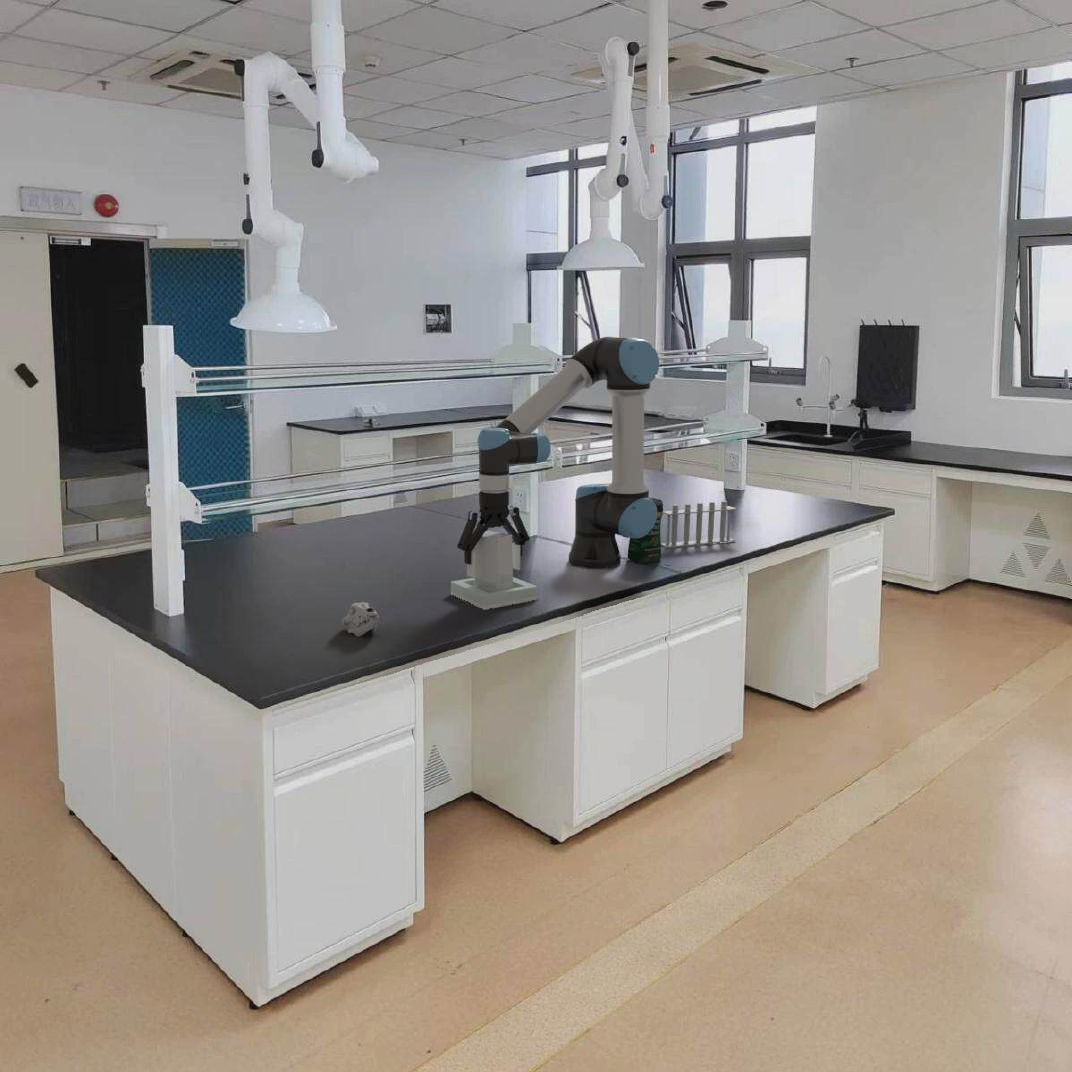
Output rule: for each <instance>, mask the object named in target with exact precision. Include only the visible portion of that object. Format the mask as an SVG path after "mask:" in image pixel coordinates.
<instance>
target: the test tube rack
mask: <svg viewBox="0 0 1072 1072" xmlns="http://www.w3.org/2000/svg"><path fill="white" fill-rule="evenodd" d="M708 504H709V505H708V507H704V503H703V502H697V503H696V508H691V503H685V504H684V509H679V505H678V504H673V505H672V510H665V511H664V510H663V515H666V517H667V518H666V519H667V520H666V521H667V522H666V525H667V526H666V541H665V542H663V543H661V547H662V546H663V547H662V548H664V547H666V548H665V549H667V548H670V549H678V548H677V547H681V548H688V547H687V546H691V547H696V546H695V545H702V546H705V545H704V544H712V545H714V544H713V543H720V542H728V541H737V540H736V539H733V538H731V537H730V535H731V534H730V531H731V517H732V515H731V513H732V511H737V510H738V508H737V507H733V506H730V505H728V502H727V500H722V501H721V504H720V506H715V505H716V502H715V501H709V502H708ZM715 512H720V519H719V520H720V523H719V537H718V538H717V537H716V538H714V530H715V529H714V527H715ZM703 513H708V523H707V524H708V525H707V538H705V539H704V538H703V539H702V532H703V531H702V528H703ZM691 514H696V521H695V523H696V524H695V526H696V527H695V539H694V540H690V529H691V528H690V527H691ZM679 515H684V518H683V520H684V521H683V522H684V523H683V540H682V541H677V540H678V523H679V522H678V520H679V519H678V518H679ZM670 523H671V524H670ZM670 525H671V526H670ZM726 525H727V528H726ZM670 529H671V537H670ZM670 538H671V539H670ZM670 540H671V541H670Z"/></svg>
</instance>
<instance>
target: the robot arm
mask: <svg viewBox="0 0 1072 1072" xmlns="http://www.w3.org/2000/svg"><path fill="white" fill-rule="evenodd" d="M659 369H660V357H659V354H658V351H657V349H656V348H655V347H654V346H653V345H652V343H651V342H649V341H647V340H645V339H641V338H637V337H613V336H604V337H603V336H602V337H600V338H597V339H595V340H593V341H591V342H590V343H588V344H586V345H584V347H581V349H579V350H578V351H577V352H575V353H574V354H573V355H572V356H571V357H569V358H568V359H567V360H566V361H565V365H564V367H563V368H562V369H561V370H560V371H559V372H558V373H557V374H555V376H553V377H552V378H551V379H550V380H549V381H547V382H546V383H545V384H544V385H542V386H541V388H540V389H538V390H537V391H536V392H535V393H533V395H531V396H530V397H529V398H528V399H526V400H525V401H524V402H523V403H522V404H520V406H518V407H517V408H516V409H514V411H513V412H512V413H510V414H509V415H508V416H507V417H506V418H504V419H503V420H502V421H501V422H499V423H498V424H497V425H496V426H488V427H484V428H483V429H481V430H480V432H479V434H478V437H477V446H478V474H479V475H478V482H479V483H478V488H479V489H480V490H479V492H478V504H479V511H472V510H470V511H469V512H468V514H467V521H466V524H465V526H464V527H463V531H462V534H461V535H460V539H459V541H458V543H457V545H456V547H457V549H459V550H460V551H463V554H464V564H466V576H468V577H470V578H474V577H475V552H474V551H473V549H474V547H475V546H476V544H477V543H478V541H479V540H480V538H481V537H482V535H483V534H484V532H486V531H489V528H490V529H493V528H500V527H502V528H503V529H504V531H506V534H512V541H514V543H513V542H512V554H513V570H516V571H520V570H521V557H522V556H523V548H524V547H523V546H524V545H525V544H526V542H529V541H530V537H529V534H528V532H527V530H526V529H527V528H526V527H525V524H524V521H522V518H521V515H520V508H519V507H517V506H514V505H511V506H510V507H509V505H510V492H509V491H508V490H510V466H516V465H518V466H519V465H528V464H535V465H536V464H538V463H543V462H546V461H547V460H548V459H549V458H550V455H551V443H550V442H551V441H550V439H549V438H548V436H547V435H546V434H545V433H542V432H540V433H539V432H537V433H536V430H537V429H539V427H540V426H541V425H543V424H544V423H545V422H546V421H547V420H549V419H550V418H551V417H552V416H553V415H554V414H556V412H558V411H559V410H560V409H561V408H563V406H565V405H566V404H567V403H568V402H569V401H570V400H571V399H573V398H574V397H575V396H576V395H577V394H578V393H579V392H581V391H582V390H583V389H586V390H587V389H589V388H591V387H592V386H593V385H594V384H596V383H598V382H601V381H606V390H607V391H608V393H610V394H611V397H612V400H611V401H612V403H611V408H612V413H611V415H612V416H611V417H612V418H611V419H612V421H611V424H612V425H611V430H612V431H611V432H612V433H611V439H612V441H611V443H612V445H611V446H612V447H611V448H612V449H611V452H612V453H611V455H612V456H611V465H612V466H611V469H612V470H611V472H612V474H611V483H592V484H583V485H580V486H579V487H578V488H576V492H575V499H574V500H575V510H574V511H575V514H574V515H575V518H574V519H575V521H574V524H575V525H574V526H575V529H574V539H573V542H572V545H571V548H570V551H569V552H568V563H569V564H570V565H571V566H574V567H578V568H583V569H594V570H595V569H597V570H598V569H599V570H600V569H610V568H615V567H618V566H620V565H621V560H622V559H621V558H622V557H621V553H620V548H619V545H618V542H617V538H616V535H617V536H620V537H623V538H626V539H628V538H629V539H630V538H634V539H637V538H641V537H643V536H645V535H647V534H648V533H649V532H650V530H651V529H652V528H653V526H654V525H655V522H656V519H657V507H656V505H655V504H654V502H653V501H652V500H651V499H649V498H650V497H649V495H650V494H649V493H650V487H649V486H648V485H646V484H645V482H644V474H645V473H644V471H645V470H644V469H645V468H644V466H645V465H644V460H645V459H644V458H645V456H644V454H645V451H644V450H645V448H644V447H645V444H644V443H645V395H646V394H647V393H648V392H649V391H650V390H651V382H653V381H654V380H655V379H656V375H658V374H659V371H660V370H659ZM534 431H535V432H534ZM509 516H510V518H511V520H512V522H513V524H514V527H515V528H514V527H513V526H512V524H511V522H510V521H509V519H508V517H509ZM477 522H478V523H477ZM515 529H516V530H515Z"/></svg>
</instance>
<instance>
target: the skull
mask: <svg viewBox="0 0 1072 1072" xmlns="http://www.w3.org/2000/svg"><path fill="white" fill-rule="evenodd" d="M341 620H342V621H341V622H342V625H343V627H344V628H346V629H347V633H348V634H354V636H356V637H357V638H358V637H361V636H363V635H365V634H366V633H367V632H369V631H372V632H373V633H376V631H377V626H378V621H380V616H379V614H378V612H377V611H376V610H375V608H374V607H371V606H370V603H368V602H365V601H364V602H363V601H361V602H353V603H352V604H351V606H350V609H349V610H348V612H347V615H346V616H344V617H342V619H341Z"/></svg>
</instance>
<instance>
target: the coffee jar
mask: <svg viewBox="0 0 1072 1072" xmlns="http://www.w3.org/2000/svg"><path fill="white" fill-rule="evenodd" d="M649 499H651V500H652V501H653V502H654V504H655V505H656V507H657V519H656V522H655V525H654V526H653V528H652V529H651V530H650V532H649V533H648V534H647V535H645V536H643V537H641V538H637V539H634V538H629V540H628V543H629V544H628V549H627V559H628V560H629V561H630V562H632V563H639V564H648V563H649V564H650V563H655V562H660V560H661V559H662V546H661V538H662V537H661V522H662V518H663V515H664V513H663V511H664V504H663V500H662V499H659V498H656V497H649Z"/></svg>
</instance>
